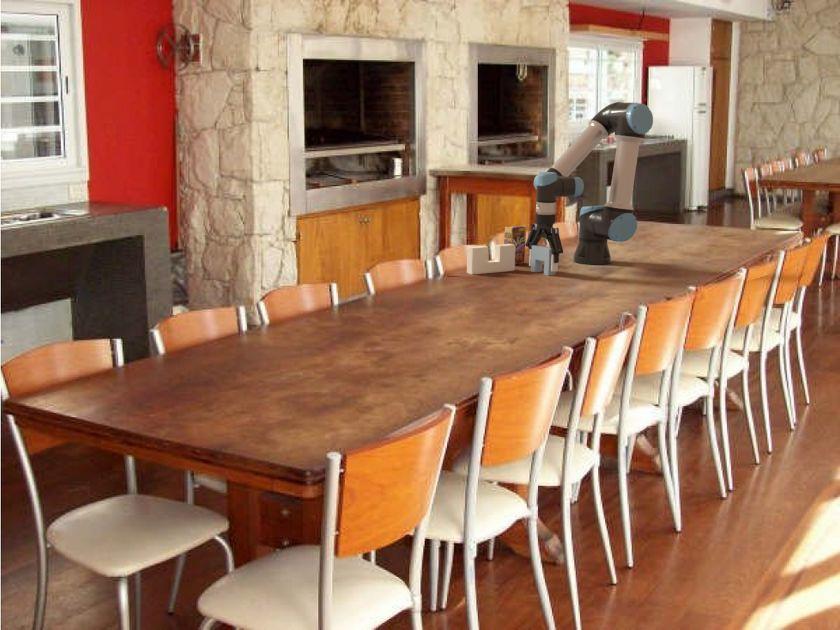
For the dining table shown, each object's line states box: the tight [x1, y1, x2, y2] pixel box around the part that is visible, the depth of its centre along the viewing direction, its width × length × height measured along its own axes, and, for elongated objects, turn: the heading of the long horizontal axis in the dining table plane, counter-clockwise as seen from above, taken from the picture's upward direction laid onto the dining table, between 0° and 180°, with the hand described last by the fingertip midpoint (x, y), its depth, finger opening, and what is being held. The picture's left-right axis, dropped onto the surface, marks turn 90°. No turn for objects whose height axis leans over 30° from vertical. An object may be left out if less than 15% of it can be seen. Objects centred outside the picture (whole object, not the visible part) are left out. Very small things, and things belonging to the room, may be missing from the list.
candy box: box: [503, 224, 527, 265], centre depth 436 cm, size 9×4×15 cm, turn 134°
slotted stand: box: [466, 243, 516, 275], centre depth 418 cm, size 20×4×10 cm, turn 122°
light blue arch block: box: [530, 244, 557, 276], centre depth 418 cm, size 11×4×10 cm, turn 32°
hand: (543, 268), depth 418 cm, fingers open, 13 cm apart
